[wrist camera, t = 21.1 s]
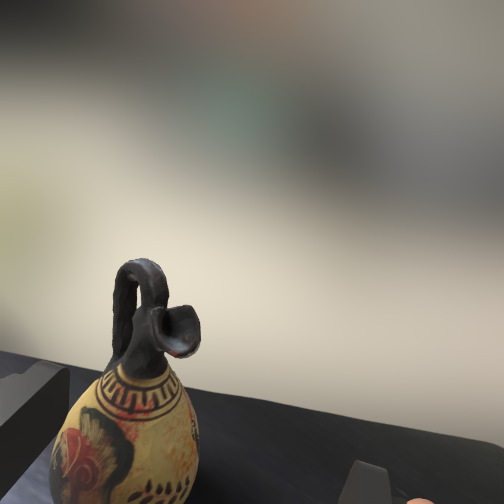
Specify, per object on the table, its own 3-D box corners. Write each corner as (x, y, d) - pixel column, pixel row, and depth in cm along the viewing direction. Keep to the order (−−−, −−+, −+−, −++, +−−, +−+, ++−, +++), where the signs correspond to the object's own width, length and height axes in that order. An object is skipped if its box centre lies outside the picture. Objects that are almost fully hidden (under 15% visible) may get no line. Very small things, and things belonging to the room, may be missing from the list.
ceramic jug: (214, 524, 46) (270, 303, 35) (77, 619, 36) (95, 349, 25) (146, 424, 57) (172, 232, 46) (27, 475, 47) (24, 244, 36)
